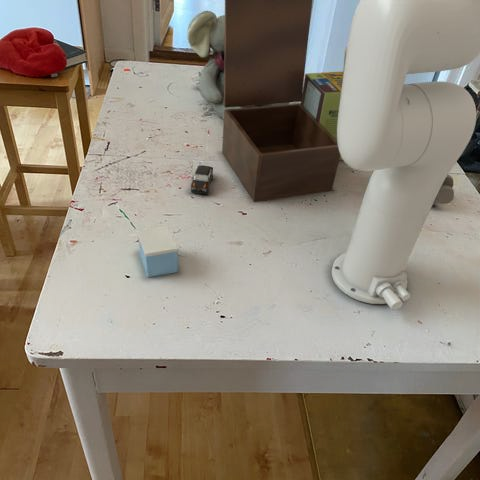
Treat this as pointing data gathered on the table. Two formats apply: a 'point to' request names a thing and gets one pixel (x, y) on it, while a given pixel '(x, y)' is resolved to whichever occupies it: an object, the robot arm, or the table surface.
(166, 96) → the table surface
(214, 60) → the plush elephant
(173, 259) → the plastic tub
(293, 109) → the chest
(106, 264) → the table surface
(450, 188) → the figurine character
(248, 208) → the table surface
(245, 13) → the lid
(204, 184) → the toy car
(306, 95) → the protein box
